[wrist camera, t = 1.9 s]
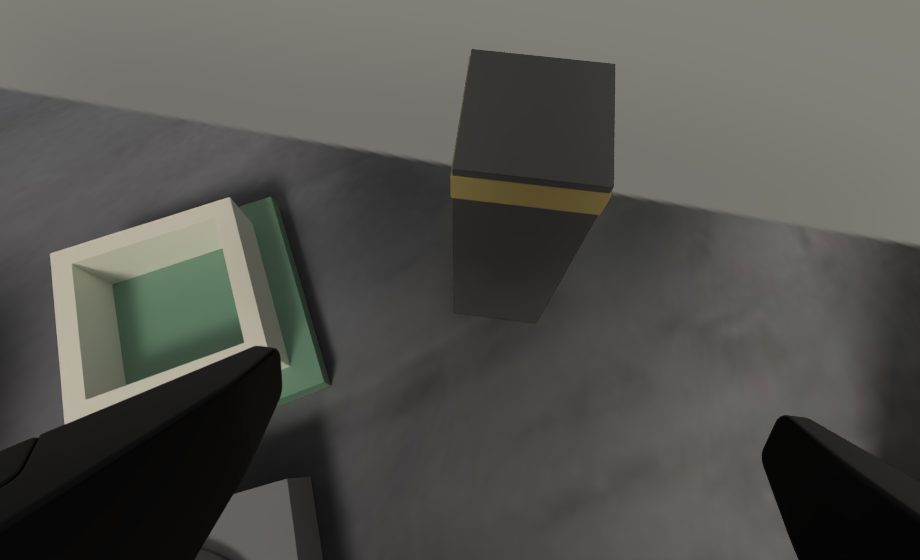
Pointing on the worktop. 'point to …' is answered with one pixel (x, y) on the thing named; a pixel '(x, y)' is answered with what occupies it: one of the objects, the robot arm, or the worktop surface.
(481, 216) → the dark grey tall block
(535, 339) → the worktop surface
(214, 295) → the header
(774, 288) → the worktop surface
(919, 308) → the worktop surface
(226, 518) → the grey domed square block
